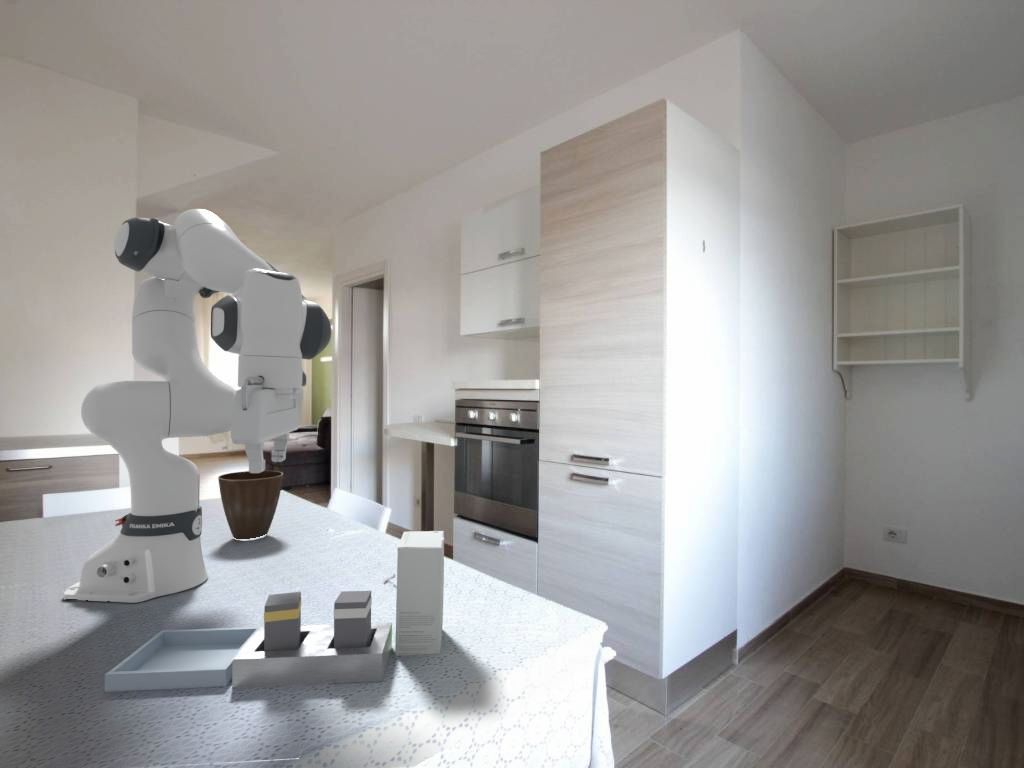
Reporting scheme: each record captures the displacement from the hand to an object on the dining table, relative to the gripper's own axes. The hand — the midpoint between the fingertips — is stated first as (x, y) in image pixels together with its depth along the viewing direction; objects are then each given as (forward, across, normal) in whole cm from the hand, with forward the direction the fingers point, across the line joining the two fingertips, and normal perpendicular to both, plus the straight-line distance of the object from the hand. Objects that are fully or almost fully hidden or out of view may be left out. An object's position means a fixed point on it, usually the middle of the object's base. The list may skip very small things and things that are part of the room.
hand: (268, 466), depth 81 cm
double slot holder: (+25, -13, -11) cm, 30 cm away
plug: (+24, -12, -6) cm, 28 cm away
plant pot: (+29, +56, +22) cm, 67 cm away
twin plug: (+24, -13, -16) cm, 31 cm away
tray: (+25, -10, +6) cm, 28 cm away
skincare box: (+25, -7, -24) cm, 35 cm away
